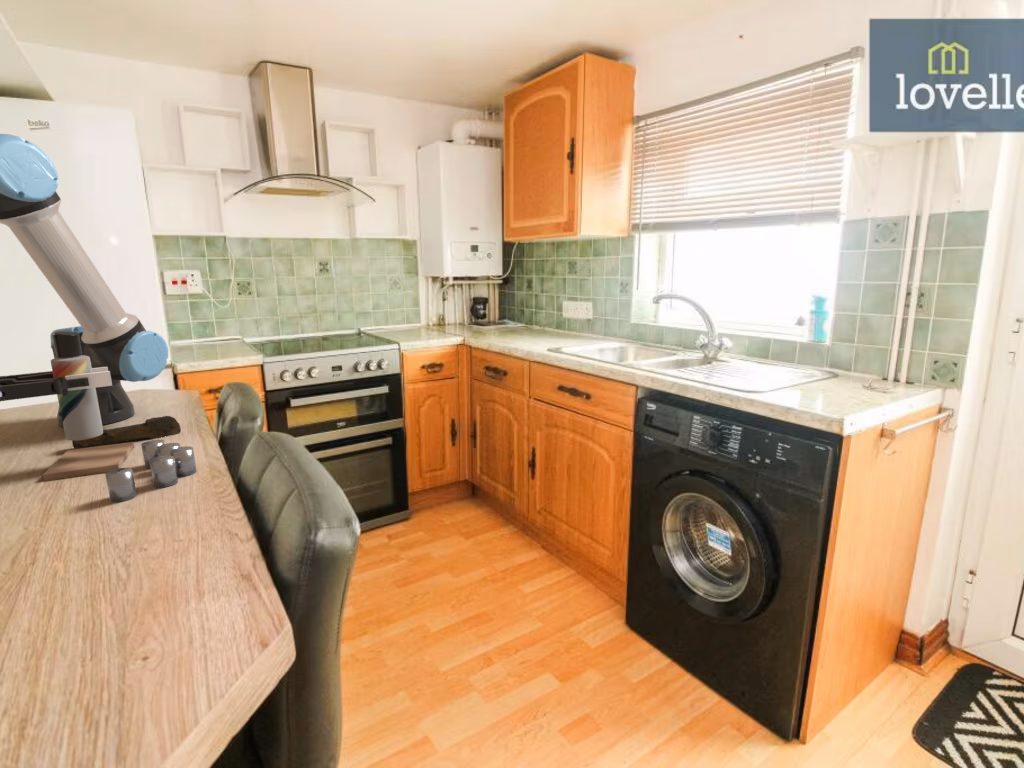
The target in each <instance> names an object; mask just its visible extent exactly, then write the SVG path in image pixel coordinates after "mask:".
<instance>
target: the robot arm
mask: <svg viewBox="0 0 1024 768" xmlns="http://www.w3.org/2000/svg"><path fill="white" fill-rule="evenodd" d="M57 180H59V175H58V171H57V169H56V166H55V164H54V162H53V161H52V160H51V158H50V157H49V156H48V155H47V154H46V153H45V151H44V150H43V149H41V148H40V147H38V146H37V145H36V144H35V143H33V142H31V141H29V140H27V139H25V138H24V137H23V138H22V137H20V136H17V135H13V134H8V133H0V224H1V225H5V226H7V227H8V228H9V230H10V231H11V233H13V235H14V236H15V238H16V239H17V240H18V241H19V243H20V244H21V246H22V247H23V249H24V250H25V251H26V253H27V254H28V255H29V256H30V258H31V259H32V261H33V262H34V263H35V265H36V266H37V268H38V269H39V271H40V272H41V273H42V275H43V276H44V277H45V279H47V281H48V283H49V284H50V285H51V287H52V289H54V291H55V292H56V294H57V295H58V296H59V298H60V299H61V301H62V302H63V303H64V305H65V306H66V308H68V309H69V311H70V313H71V314H72V316H73V317H74V318H75V319H76V320H77V322H78V324H79V326H71V327H65V328H57V329H55V330H52V332H51V333H50V348H51V349H52V350H51V351H52V353H53V354H52V355H53V359H54V358H58V357H56V352H55V347H54V342H53V337H52V335H54V333H55V332H59V331H65V332H77V333H79V337H80V342H81V348H82V353H83V354H82V355H84V356H89V357H90V361H91V367H92V372H93V373H85V374H78V375H70V376H65V378H66V380H65V378H64V377H59V378H54V377H53V372H52V370H49V371H39V372H30V373H21V374H20V373H19V374H11V375H9V374H8V375H0V402H5V401H6V402H7V401H13V400H21V399H30V398H38V397H47V396H55V395H56V396H57V395H59V394H63V396H66V395H68V391H72V390H80V389H88V388H96V394H97V399H98V405H99V410H100V415H101V421H102V426H103V425H108V424H112V423H113V424H114V423H117V422H121V421H124V420H127V419H129V418H132V417H133V416H134V415H135V414H136V412H135V406H134V403H133V402H132V400H131V398H130V397H129V396H128V394H127V392H126V391H125V389H124V387H123V386H122V382H121V381H125V382H126V381H127V382H131V383H135V382H146V381H150V380H153V379H155V378H156V377H158V376H159V375H160V374H161V373H162V372H163V371H164V369H165V367H166V366H167V361H168V358H169V347H168V344H167V342H166V339H164V337H163V336H162V335H160V334H159V333H157V332H155V331H152V330H147V329H146V328H145V327H144V325H143V324H142V322H141V320H140V318H139V317H138V316H137V315H136V314H135V315H134V314H132V313H131V314H130V313H128V312H126V311H125V310H124V308H123V307H122V305H121V303H120V302H119V301H118V299H117V298H116V296H115V294H114V293H113V292H112V290H111V288H110V286H109V285H108V283H107V282H106V281H105V279H104V278H103V277H102V275H101V273H100V271H98V269H97V268H96V265H95V264H94V262H92V261H93V260H91V257H90V256H89V255H88V254H87V252H86V251H85V249H84V247H83V246H82V244H81V243H80V242H79V240H78V239H77V237H76V236H75V234H74V232H73V231H72V229H71V228H70V227H69V225H68V223H67V222H66V221H65V219H64V216H62V214H61V212H60V211H59V209H60V206H61V203H62V199H61V197H60V195H59V194H58V192H57V189H58V185H59V184H58V182H57ZM68 309H67V310H68ZM67 388H68V391H67ZM56 418H57V423H58V426H59V427H62V428H64V426H63V422H62V417H61V412H60V407H59V406H58V410H57V415H56Z"/></svg>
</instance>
